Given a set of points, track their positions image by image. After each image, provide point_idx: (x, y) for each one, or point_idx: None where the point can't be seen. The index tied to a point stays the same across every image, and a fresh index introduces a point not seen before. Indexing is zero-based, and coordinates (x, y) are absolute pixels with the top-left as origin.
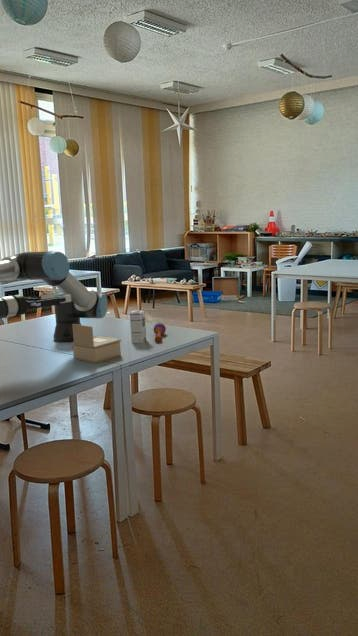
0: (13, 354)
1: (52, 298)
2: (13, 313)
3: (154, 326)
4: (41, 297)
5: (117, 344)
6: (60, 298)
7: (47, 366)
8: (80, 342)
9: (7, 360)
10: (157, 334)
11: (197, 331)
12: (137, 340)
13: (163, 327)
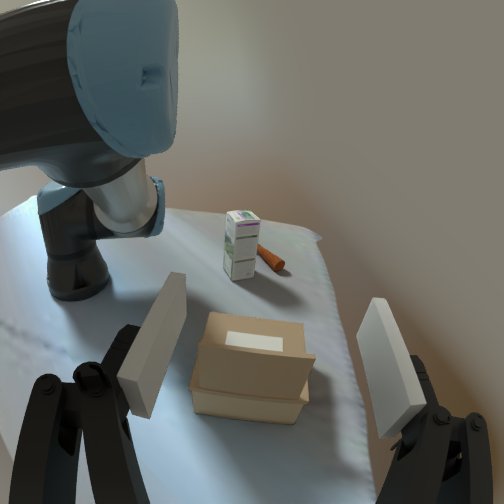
0: (3, 398)
1: (444, 459)
2: None
3: None
4: (141, 395)
5: None
6: (432, 396)
7: (175, 499)
8: (236, 390)
9: (14, 453)
10: (265, 251)
11: (280, 225)
12: (244, 275)
13: None
